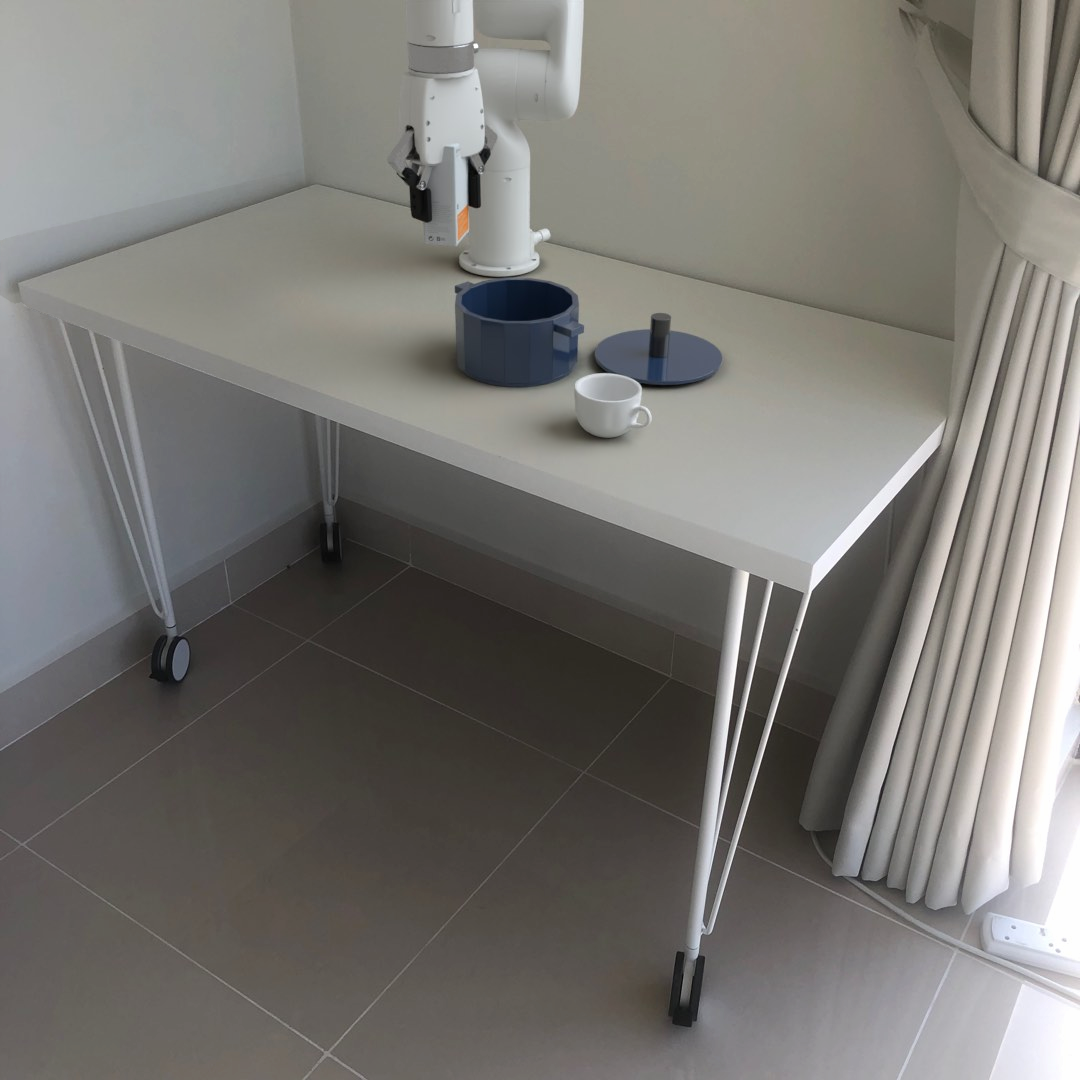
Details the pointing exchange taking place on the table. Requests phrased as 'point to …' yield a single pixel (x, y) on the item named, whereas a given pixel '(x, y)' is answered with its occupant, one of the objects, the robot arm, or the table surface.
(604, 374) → the teacup
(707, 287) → the table surface
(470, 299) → the pot
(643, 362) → the pot lid
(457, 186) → the cosmetic box
